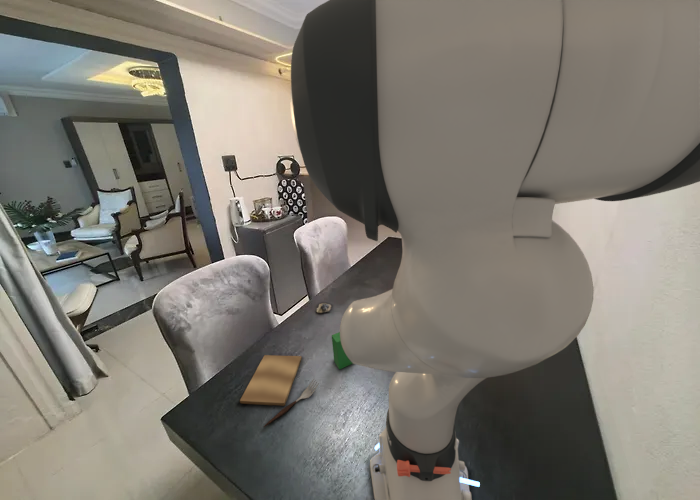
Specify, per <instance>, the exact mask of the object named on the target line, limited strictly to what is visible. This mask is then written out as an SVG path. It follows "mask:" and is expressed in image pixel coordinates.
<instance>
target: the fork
mask: <svg viewBox="0 0 700 500" xmlns="http://www.w3.org/2000/svg"><path fill="white" fill-rule="evenodd" d="M319 384H320V382H318V381H316V379H315V378H313V379H312V381H311V382H310V383H309V384H308V386H307V387H306V388H305V390H303V392H302V393H301V395H300V396H299V397H298V398H297V399H295V400H293V402H290V403H289V404H288V405H285V406H284V408H282V409H281V410H279V412H278V413H276V415H274V416H273V417H272V418H271V419H269V421H268V422H266V423H265V424H264V425H263V428H265V427H267V426H269V425H270V424H272V423H273V422H275V421H276V420H277V419H279V418H280V417H282V416H283V415H285V414H286V413H287V412H288V411H290V409H291V408H292V407H294V406H295V405H296V404H297V403H298V402H299V401H300V400H306V399H309V398H311V396H312V395H313V394H314V393H315V391H316V389H317V387H318V386H319Z"/></svg>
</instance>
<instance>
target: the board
mask: <svg viewBox="0 0 700 500" xmlns="http://www.w3.org/2000/svg"><path fill="white" fill-rule="evenodd" d="M302 359H303V358H302V356H301V355H276V354H275V355H273V354H270V355H269V354H264V356H263V357H262V359H261V360H260V363H259V365H258V366H257V368H256V370H255V372H254V373H253V375H252V377H251V379H250V380H249V383H248V384H247V386H246V388H245V390H244V392H243V394H242V395H241V398H240V399H239V404H244V405H264V406H283V407H286V403H287V401H288V398H289V396H290V392H291V389H292V387H293V384H294V381H295V380H296V379H295V378H296V375H297V373H298V370H299V367H300V364H301V362H302Z"/></svg>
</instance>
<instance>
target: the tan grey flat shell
mask: <svg viewBox="0 0 700 500" xmlns="http://www.w3.org/2000/svg"><path fill="white" fill-rule="evenodd" d="M332 307H333V306H332V305H331V304H330V303H326V302H322V303H319V304H318V307H317V308H316V309H315V313H318V314H322V313H326V312H327V313H328V312H331V309H332Z"/></svg>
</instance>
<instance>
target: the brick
mask: <svg viewBox="0 0 700 500" xmlns="http://www.w3.org/2000/svg"><path fill="white" fill-rule="evenodd" d="M331 343H332V353H333V361H334V364H335V365H336V366H337V368H338V370H339V371H340V370H342V369H345V368H346V367H348V366H349V367H350V366H351V365H354V364H353V363H352V362H351V361H350V360H349V358H348V357H347V355H346V354H345V352H344V350H343V347H342V344H341V340H340V331H338V332H336V333H334V334H331Z"/></svg>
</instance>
